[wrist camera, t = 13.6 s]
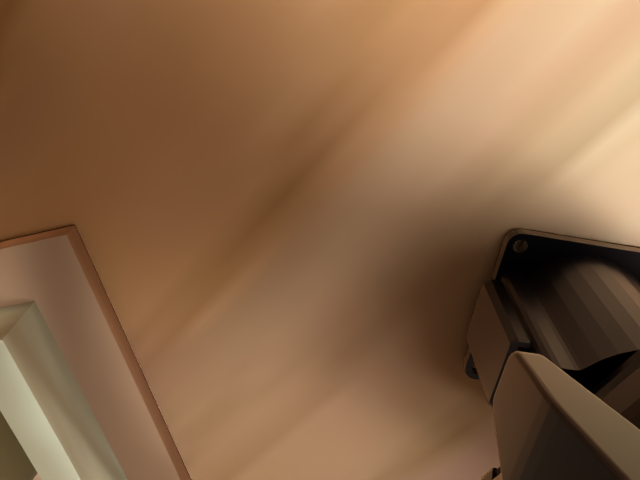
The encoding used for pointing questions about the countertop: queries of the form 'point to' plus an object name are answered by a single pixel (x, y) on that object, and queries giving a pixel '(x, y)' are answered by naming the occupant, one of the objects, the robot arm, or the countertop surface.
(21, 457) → the cork
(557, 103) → the countertop surface
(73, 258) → the shaker holder
